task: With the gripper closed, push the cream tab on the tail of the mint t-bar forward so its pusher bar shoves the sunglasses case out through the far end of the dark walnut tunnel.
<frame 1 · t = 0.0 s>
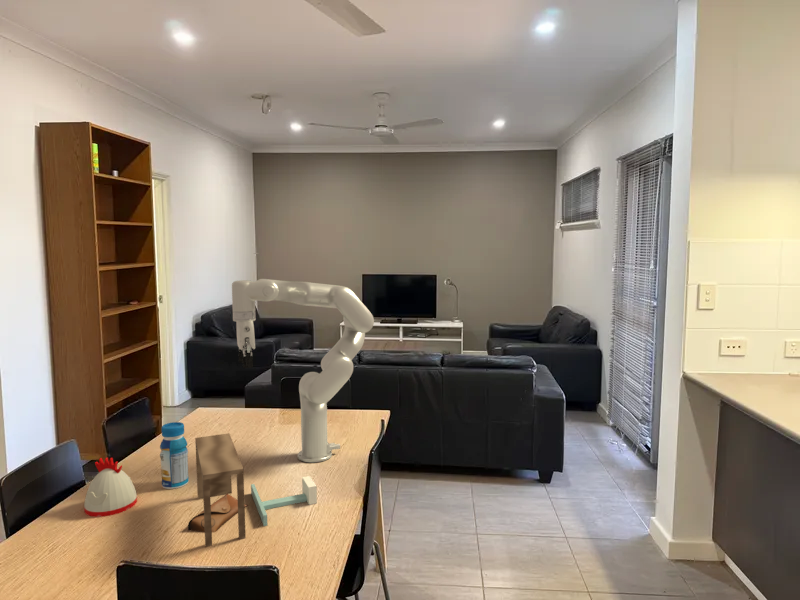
hand: (245, 365, 184), 37 cm above the table, tool pointing down, fingers open, 9 cm apart
kitchen timer: (111, 506, 160), on the table
beverage bottle: (175, 485, 174), on the table
mint t-bar: (285, 494, 160), point 3 cm above the table, slide at 0.0 cm
tunnel: (219, 516, 152), on the table
sunglasses case: (220, 519, 152), on the table
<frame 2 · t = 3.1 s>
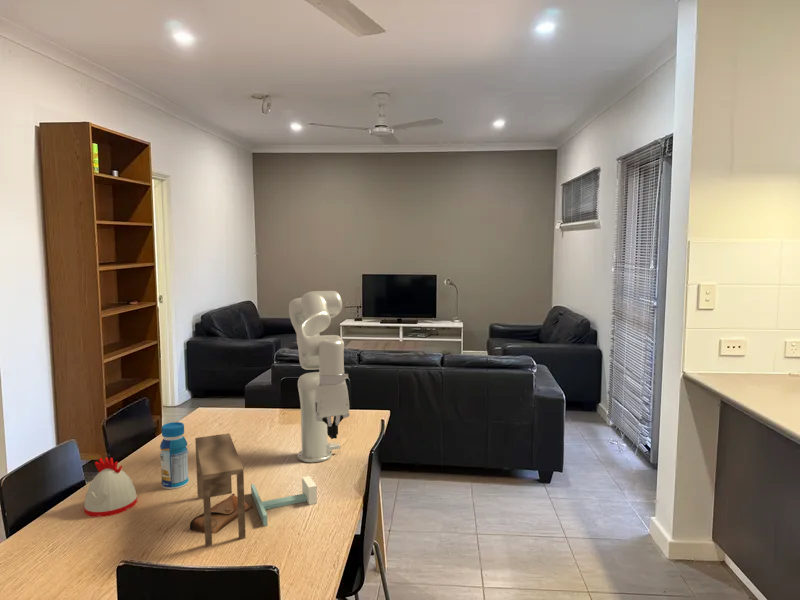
hand: (332, 437, 165), 18 cm above the table, tool pointing down, fingers closed
sunglasses case: (223, 520, 152), on the table
everything else where it was.
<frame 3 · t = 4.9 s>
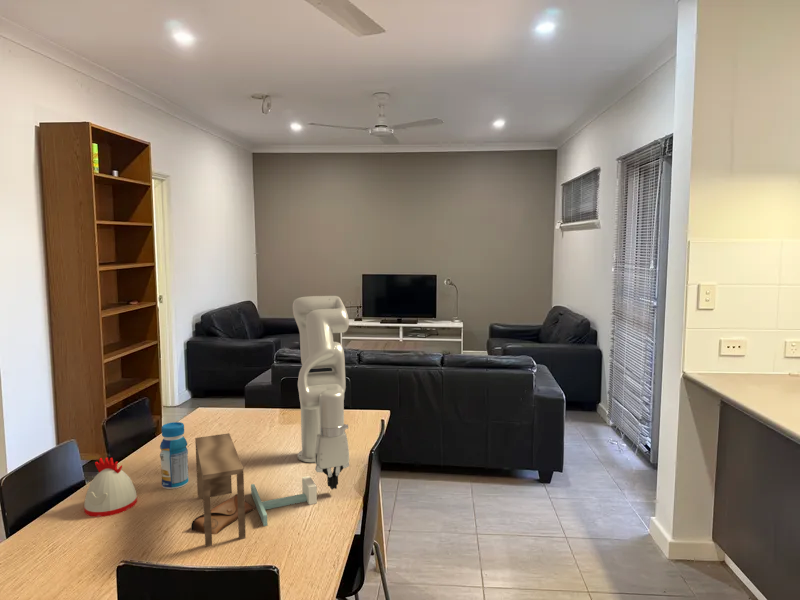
hand: (332, 487, 166), 2 cm above the table, tool pointing down, fingers closed
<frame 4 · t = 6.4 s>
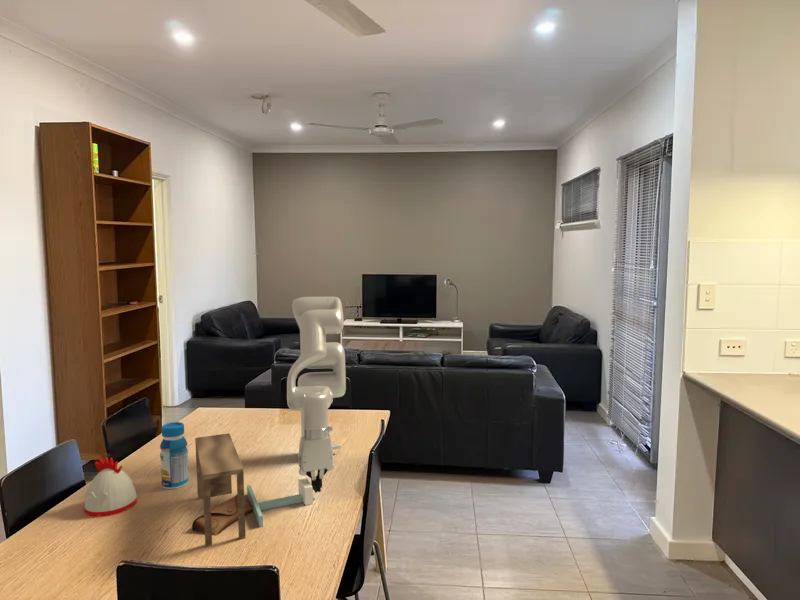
hand: (316, 490, 164), 2 cm above the table, tool pointing down, fingers closed
mint t-bar: (281, 495, 159), point 3 cm above the table, slide at 1.2 cm, touching gripper
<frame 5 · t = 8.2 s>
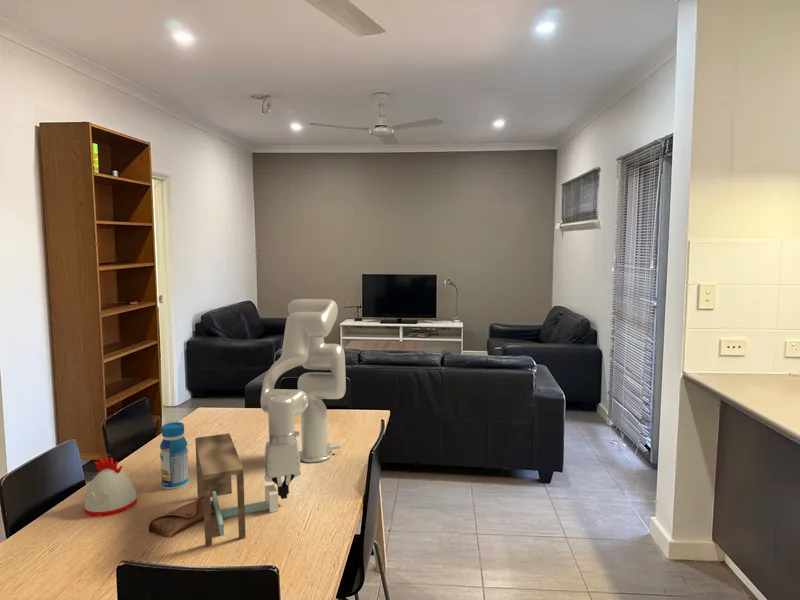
hand: (283, 496, 160), 2 cm above the table, tool pointing down, fingers closed
mint t-bar: (246, 502, 155), point 3 cm above the table, slide at 11.5 cm, touching gripper
sunglasses case: (186, 523, 150), on the table
everything else where it was.
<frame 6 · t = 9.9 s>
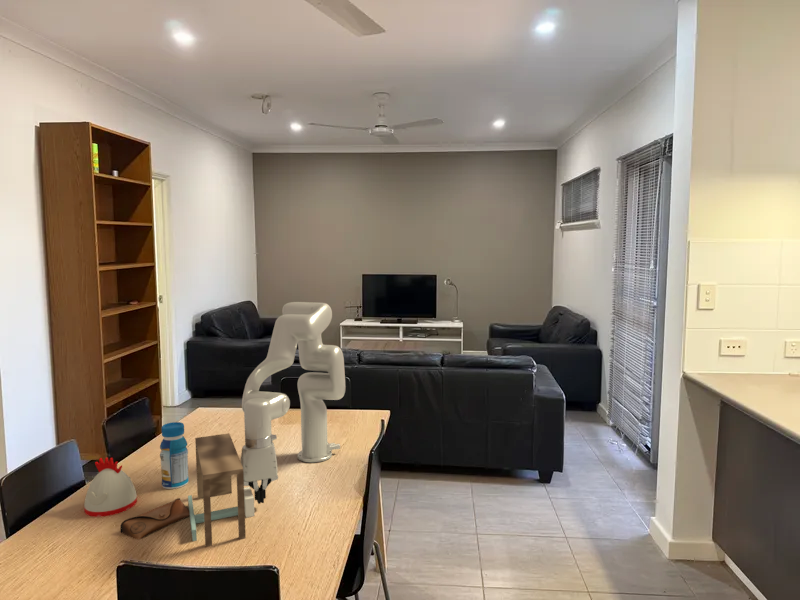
hand: (260, 501, 157), 2 cm above the table, tool pointing down, fingers closed
mint t-bar: (221, 506, 152), point 3 cm above the table, slide at 18.4 cm, touching gripper, sunglasses case
sunglasses case: (159, 525, 149), on the table, touching mint t-bar
everything else where it was.
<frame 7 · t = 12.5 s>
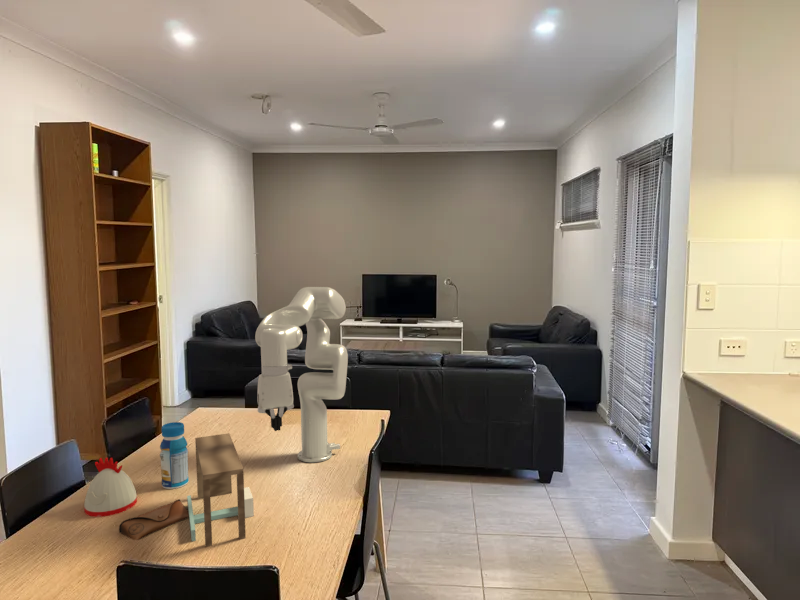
hand: (276, 429, 161), 22 cm above the table, tool pointing down, fingers closed
mint t-bar: (220, 507, 152), point 3 cm above the table, slide at 18.6 cm
sunglasses case: (158, 526, 149), on the table
everything else where it was.
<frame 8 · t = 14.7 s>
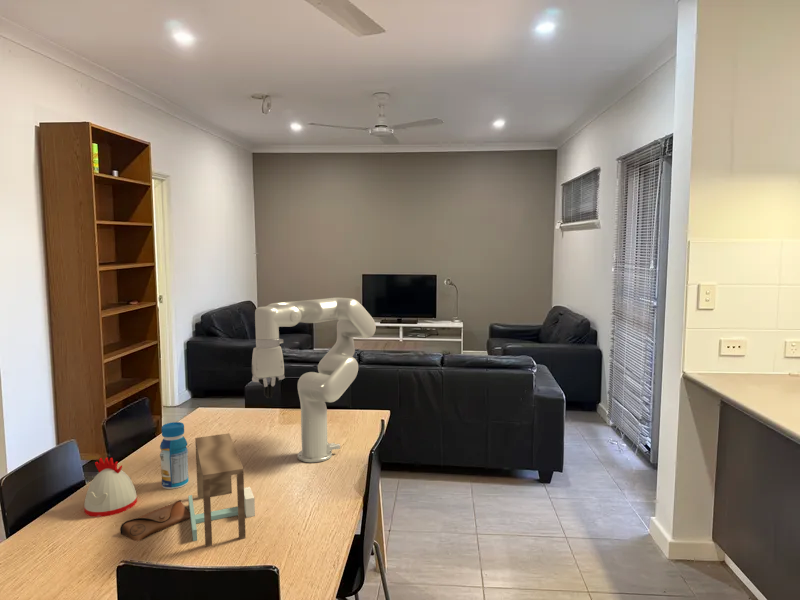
hand: (269, 397, 179), 27 cm above the table, tool pointing down, fingers closed
mint t-bar: (222, 506, 152), point 3 cm above the table, slide at 18.3 cm
at the end: mint t-bar slide at 18.3 cm; sunglasses case inside the target area (3.5 cm from its centre), on the table; sunglasses case tilted 0° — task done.
